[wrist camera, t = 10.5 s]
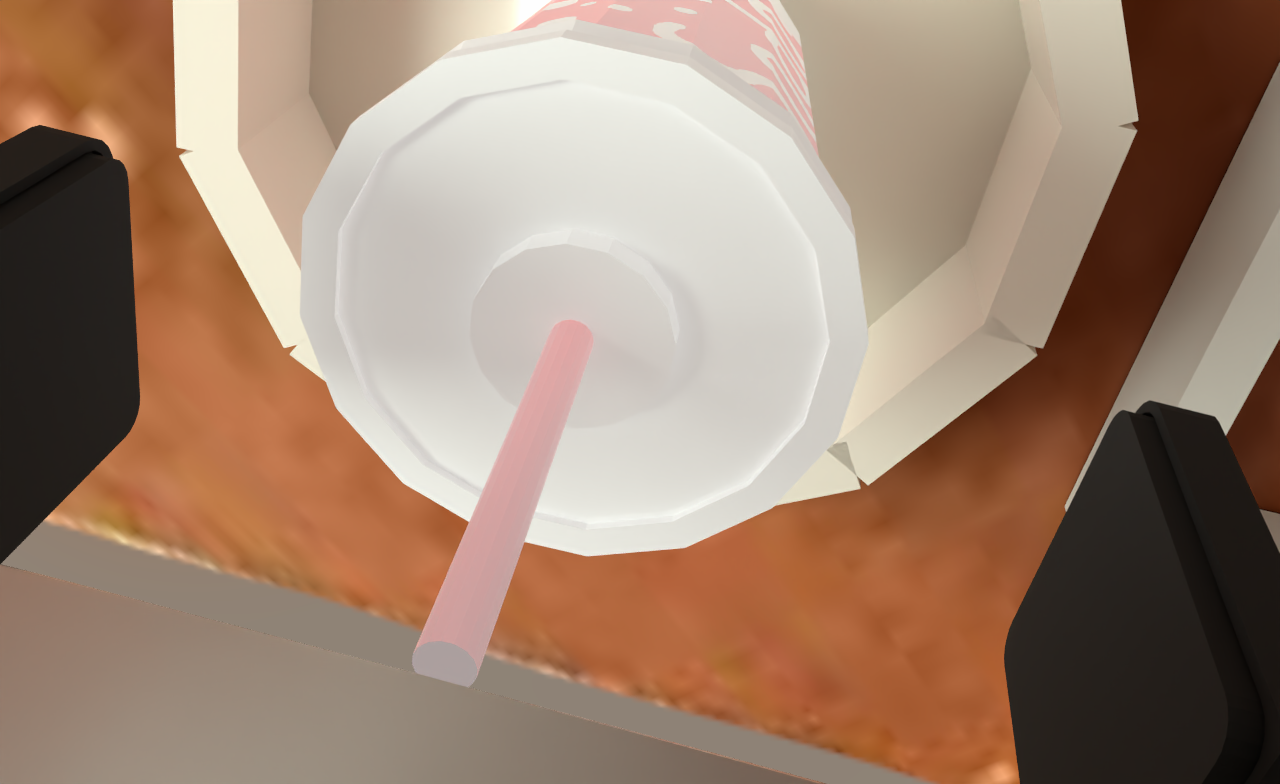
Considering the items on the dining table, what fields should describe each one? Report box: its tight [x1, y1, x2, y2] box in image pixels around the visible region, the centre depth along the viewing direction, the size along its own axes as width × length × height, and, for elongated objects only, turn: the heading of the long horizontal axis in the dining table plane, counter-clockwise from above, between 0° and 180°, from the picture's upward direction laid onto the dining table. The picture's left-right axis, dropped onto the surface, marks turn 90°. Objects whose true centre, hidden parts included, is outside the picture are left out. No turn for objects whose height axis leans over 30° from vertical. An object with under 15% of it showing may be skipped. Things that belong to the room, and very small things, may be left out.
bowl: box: [173, 0, 1139, 505], centre depth 19 cm, size 14×14×4 cm
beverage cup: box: [300, 0, 869, 687], centre depth 14 cm, size 6×6×14 cm
